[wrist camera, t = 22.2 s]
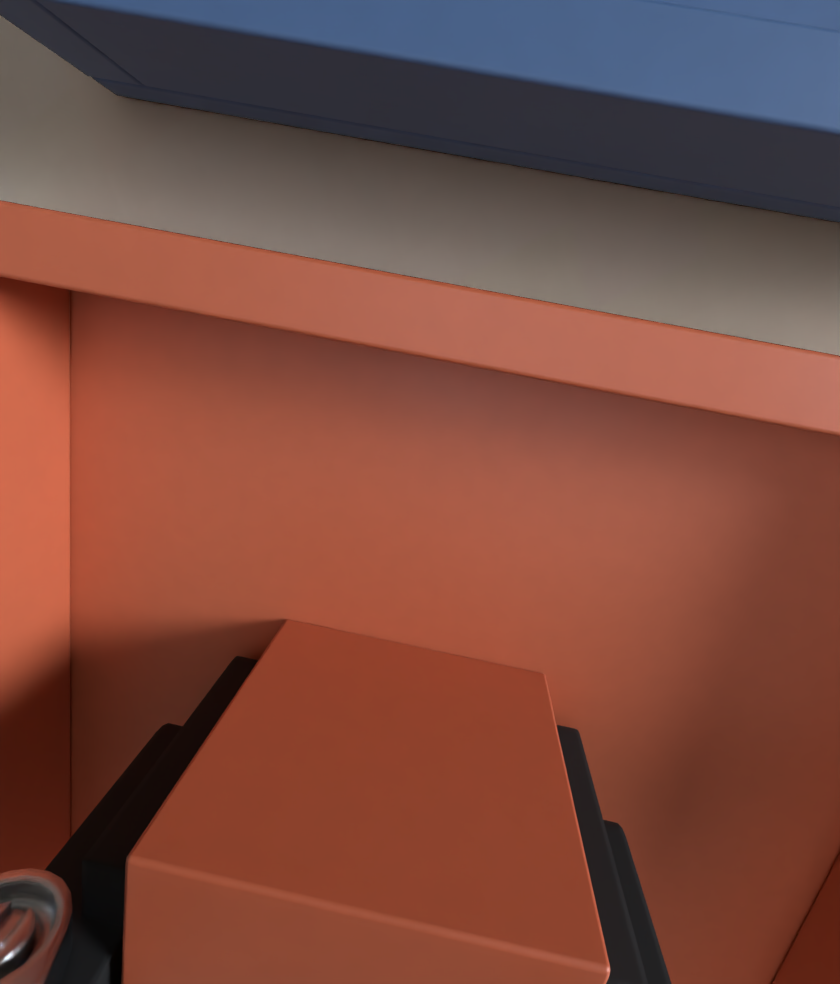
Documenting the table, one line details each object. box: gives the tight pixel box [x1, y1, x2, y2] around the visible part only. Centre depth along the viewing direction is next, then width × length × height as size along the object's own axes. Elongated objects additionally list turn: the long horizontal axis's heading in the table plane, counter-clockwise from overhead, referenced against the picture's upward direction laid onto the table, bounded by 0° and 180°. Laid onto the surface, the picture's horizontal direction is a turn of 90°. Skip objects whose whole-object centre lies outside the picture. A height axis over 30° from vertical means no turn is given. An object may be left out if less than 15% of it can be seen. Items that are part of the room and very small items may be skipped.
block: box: [121, 620, 610, 984], centre depth 8 cm, size 4×4×4 cm
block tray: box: [0, 200, 840, 984], centre depth 9 cm, size 16×16×3 cm
